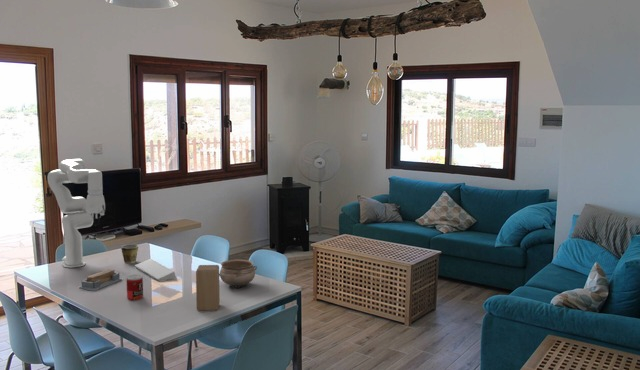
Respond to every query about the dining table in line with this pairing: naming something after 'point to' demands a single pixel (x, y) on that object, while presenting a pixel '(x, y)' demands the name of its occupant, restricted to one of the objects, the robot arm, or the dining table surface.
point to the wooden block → (207, 287)
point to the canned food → (134, 287)
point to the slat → (101, 276)
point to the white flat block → (156, 270)
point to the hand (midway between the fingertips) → (96, 224)
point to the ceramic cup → (129, 253)
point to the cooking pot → (237, 272)
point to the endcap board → (97, 284)
